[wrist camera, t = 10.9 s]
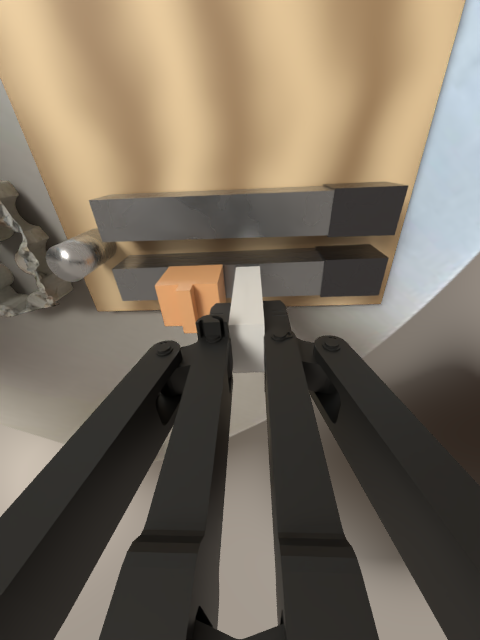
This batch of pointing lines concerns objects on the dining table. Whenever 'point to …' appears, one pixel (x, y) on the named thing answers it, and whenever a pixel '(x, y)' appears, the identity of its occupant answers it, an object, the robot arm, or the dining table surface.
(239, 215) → the bar
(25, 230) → the grey lumpy stone piece
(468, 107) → the dining table surface
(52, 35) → the board
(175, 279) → the tab
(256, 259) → the tongs fixed
